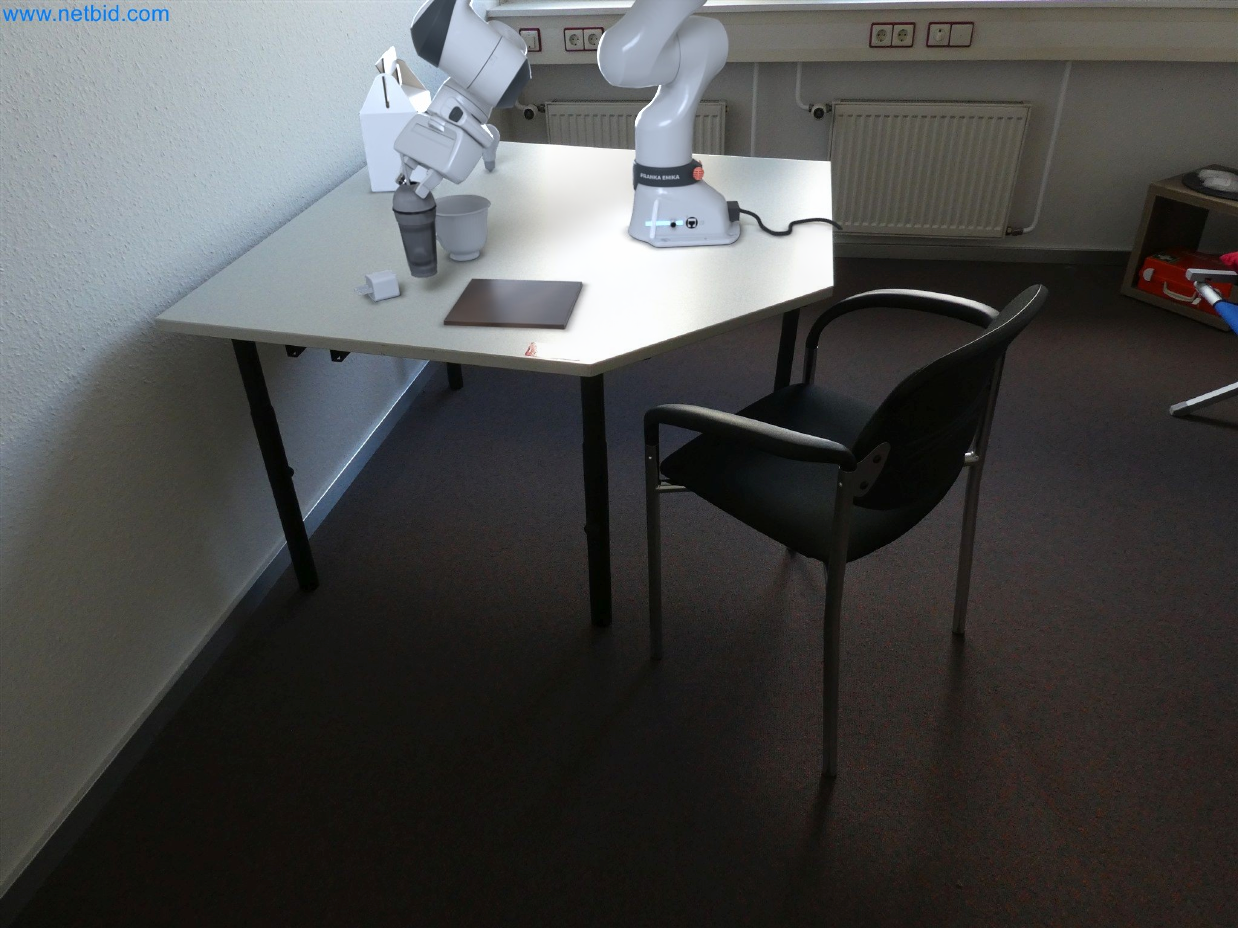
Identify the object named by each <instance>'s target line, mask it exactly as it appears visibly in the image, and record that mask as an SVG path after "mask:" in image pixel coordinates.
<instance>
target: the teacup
mask: <svg viewBox="0 0 1238 928" xmlns="http://www.w3.org/2000/svg"><path fill="white" fill-rule="evenodd" d="M434 199H435V202H436V205H437V207H436V218H435V226H436V241H437V242H438V243H439V245H440V247H441V248H442V249H443V250H444V251H446V252H447V253H449V258H450V259H452V260H453V261H459V262H460V261H461V262H464V261H465V262H466V261H471V260H476V259H477V258H479V256H481V255H480V251H479V250H480V249H482V248H483V247H484V246H485V244H486V242H487V239H488V216H489V215H488V214H489V208H490V207H491V205H492V202H491V200H490V199H489V198H486V197H485V196H482V195H478V194H453V195H452V194H451V195H445V196H442V197H438V198H434Z"/></svg>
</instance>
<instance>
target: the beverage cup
mask: <svg viewBox="0 0 1238 928" xmlns="http://www.w3.org/2000/svg"><path fill="white" fill-rule="evenodd" d="M400 158H401V162H402V166H403V171H404V175H405V179H406V182H405V183H403V184H401V185H400V186H399V187H398V188H397V189H396V191H394V193H393V196H392V207H391V210H392V212H393V215H394V218H395V221H396V222H397V226H398V228H399V229H398V230H399V233H400V238H401V241H402V245H403V250H404V253H405V257H406V261H407V262H406V263H407V265H408V268H409V271H410V275H411V276H412V277H413V278H417V279H424V278H425V279H427V278H431V277H433V276H436V275H437V274H438V249H437V248H438V247H437V245H438V244H437V240H436V226H435V218H436V207H437V205H436V202H435V199H436V198H435V196H434V194H433V192H432V190H430V191H429V193H428V194H427V196H426V197H425V198H421V197H419V196H418V195H416V194H415V193H414V192H413V189H414V187H415V186H416V184H417V182H416V181H409V178H408V174H407V169H406V165H405V161H404V157H403V153H401V154H400ZM419 183H420V182H419Z"/></svg>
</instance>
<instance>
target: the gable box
mask: <svg viewBox="0 0 1238 928" xmlns="http://www.w3.org/2000/svg"><path fill="white" fill-rule="evenodd" d="M395 49H396V48H395V47H394V46H391V47H390V48H389V49H388V50H387V51H385V53H383V55H382V56H381V57H380V58H379V59H378V61H377V62H376V63H375V64H374V66H375V68H376V69H377V71H378V72H379V74H377V75H376V76H375V77H374V80H373V82H372V84H371V85H370V89H369V91H368V93H367V95H366V97H365V100H364V101H363V104H362V107H361V109H360V111H359V112H358V120H359V125H360V131H361V135H362V143H363V149H364V155H365V160H366V166H367V171H368V177H369V183H370V188H371V192H372V193H385V192H386V193H387V192H388V193H389V192H395V191H396V189H397V188H398V187H399V186H400V185H398V184H397V183H396V182H395V178H396V177H397V175H398V174H399V171H400V166H401V158H400V154H399V153H398V152H397V151H396V150H394V148H393V147H394V142H395V140H396V138H397V137H398V136H399V134H400V133H401V131H402V130H403V129H404V127H405V126H406V125H407V123H408V122H409V121H410V120H411V119H412V118H413V117H414V116H415V115H416V114H418V113H421V112H424V111H426V110H427V107H428V106H429V104H430V103H431V101H432V100H431V94H430V90H428V89H427V87H426V86H425V85H424V84H423V82H422V81H421V79H419V78H418V76H417V75H416V74H415V72H414V71H413V70H412V69H411V67H410V66H409V65H408V64H407V63H406V61H404V60H403V59H401V58H397V55H396V50H395ZM427 172H428V170H427V169H425V168H423V167H421V166H419V165H418V166H417V168H416V169H415V170H413V171H412V174H411V176H410V180H411V181H416V182H421V181H422V180H423V179H424V178H425V177H426V176H427Z"/></svg>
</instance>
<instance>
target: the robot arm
mask: <svg viewBox="0 0 1238 928" xmlns="http://www.w3.org/2000/svg"><path fill="white" fill-rule="evenodd" d="M473 1H474V0H426V2H424V3H423V5H422V6H421V7H420V8H419V9H418V11H417V12H416V14H415V15H414V17H413V20H412V23H411V27H410V29H409V32H410V36H411V41H412V44H413V48H414V50H415V52H416V55H417V56H418V57H419V58H421V59H422V60H424V61H426V62H427V63H428V64H430V65H432V66H433V67H434V68H436V69H439V70H441V72H443V73H444V74H446V75H447V76H448V78H447V79H445V80H444V81H443V83H442V84H441V86H440V87H439V89H438V90H437V91H436V93H435V94H434V96H433V98H432V100H431V103H430V104H429V106H428V107H427V110H426V111H424V112H421V113H418V114H416V115H415V116H414V117H413V118H412V119H411V120H410V121H409V122H408V123H407V125H406V126H405V127H404V129H403V130H402V131H401V133H400V134H399V136H398V137H397V138H396V140H395V142H394V147H393V148H394V150H396V151H397V152H398V153H399V154H401V153H403V157H404V161H405V165H406V169H407V174H408V178H409V181H411V180H410V176H411V174H412V171H413V170H415V169H416V168H417V166H418V165H419V166H421V167H423V168H425V169H427V170H428V172H427V176H426V177H425V178H424V179H423V180H422V181H421V182H420V183H419V182H417V184H416V186H415V187H414V189H413V192H414V193H415V194H416V195H418V196H419V197H421V198H425V197H426V196H427V194H428V193H429V191H432V190H433V189H435V187H437V186H438V185H439V184H441V182H442V181H443V179H445V180H447V181H449V182H451V183H453V184H455V185H460V184H462V183H463V182H465V181H466V180H467V179H468V178H469V176H470V175H471V174H472V172H473V171H474V169H475V167H476V166H477V164H478V163H479V161H480V160H481V158H482V154H483V148H485V149H487V148H489V147H490V145H491V144H492V142H493V140H494V138H493V136H492V135H491V133H490V132H489V130H488V129H487V127H486V126H485V124H487V123H488V121H489V119H490V117H491V114H492V112H493V110H494V109H498V110H499V109H502V110H503V109H511V108H514V106H515V104H516V102H517V100H518V98H519V96H520V95H521V93H522V92H523V90H524V88H525V87H526V85H527V84H528V83H529V82H530V81H531V80H532V70H531V65H530V61H529V58H528V57H527V53H528V47H527V44H526V42H525V40H524V39H523V37H522V35H520V33H519V32H518V31H517V30H516V29H514V28H513V27H512V26H510V25H509V24H508V23H505V22H503V21H501V20H497V19H492V20H489V21H488V22H487V21H486V20H484V18H483V17H481V16H480V15H479V14H478V13H477V12H476V11H475V10H474V8H473V5H472V4H473ZM707 2H708V0H634V2H633V3H632V5H631V6H630V7H629V8H628V10H627V12H626V13H625V14H624V15H623V16H622V17H621V18H620V19H619V20H618V21H616V23H614V24H613V25H612V26H611V27H609V28H608V29H606V30H605V31H604V32H603V34H602V35H601V38H600V39H599V42H598V43H599V44H598V47H597V65H598V67H599V70H600V73H601V75H602V76H603V77H604V79H605V80H606V81H607V82H608V83H609V85H611V86H613V87H619V88H629V89H642V88H648V87H649V88H650V87H657V86H658V88H657V91H656V93H655V96H654V98H653V99H652V100H651V102H650V103H648V104H647V105H646V106H645V107H643V108H642V109H641V111H639V113H638V114H637V117H636V119H635V123H634V159H633V162H632V163H633V164H632V186H633V190H634V193H633V195H634V196H633V203H632V211H631V217H630V221H629V226H628V229H627V233H628V234H629V236H631V237H632V238H634V239H636V240H639V241H643V242H646V243H648V244H650V245H651V246H652V247H656V248H670V247H671V248H673V247H675V248H676V247H695V246H696V247H697V246H717V245H730V244H733V243H734V242H736V241H737V240H738V239H739V238H740V234H741V227H740V226H741V225H740V223H739V222H740V219H741V214H743V215H748V216H750V217H752V218H753V219H755V220H756V222H757V225H758V226H759V228H760V229H761V230H762V231H764V232H766V233H767V234H769V235H772V236H787V235H790V234H791V233H792V232H793V226H794V225H800V224H807V223H826V224H829V225H831V226H833V227H834V228H836V229H837V230H838V231H843V230H844V228H843V227H842V225H840V224H839V223H838V222H836V221H834V220H832V219H829V218H827V217H809V218H804V219H803V218H802V219H797V220H793V221H790V222H789V223H788V226H787V227H788V229H787V230H782V231H776V230H771V229H770V228H768V227H767V226H765V224H764V223H763V221H762V219H761V217H760V216H759V215H758V214H757V213H756V212H754V211H751V210H748V209H744V208H741V207H740V204H739V201H738V200H727V199H726V198H725V196H724V194H722V193H721V192H720V191H718V190H717V189H715V188H714V187H713V186H711V184H709V183H708V182H706V181H705V180H704V179H703V178H704V176H705V175H704V174H705V170H704V167H703V164H702V161H701V160H700V159H699V160H696V159H695V158H693V145H694V132H695V120H696V116H697V112H698V111H697V110H698V108H699V105H700V103H701V100H702V98H703V96H704V93H705V91H706V90H707V88H708V86H709V85H710V84H711V82H712V80H713V79H714V78H715V77H716V76H717V75H718V74H719V73H720V72H721V71H722V69H724V67H725V65H726V63H727V61H728V58H729V54H730V39H729V34H728V32H727V29H726V28H725V26H724V24H723V23H722V22H721V21H720V20H719V19H717V18H714V17H709V16H703V15H696V14H695V15H694V13H696V12H698V11H700V9H701V8H702V7H703V6H705V4H707ZM493 108H494V109H493ZM395 182H396V183H397V184H398V185H401V184H403V183H405V182H406V179H405V175H404V171H403V166H402V162H401V166H400V171H399V174H398V175H397V177H396V178H395Z"/></svg>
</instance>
